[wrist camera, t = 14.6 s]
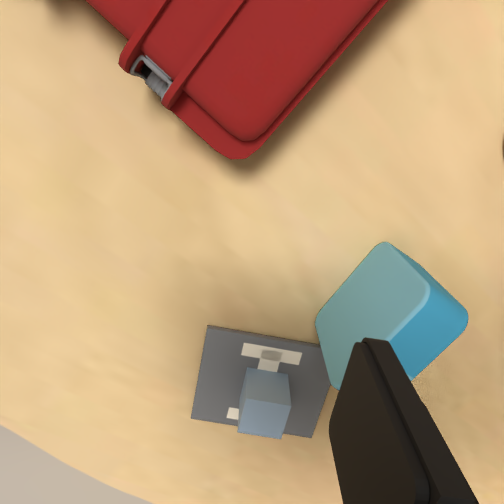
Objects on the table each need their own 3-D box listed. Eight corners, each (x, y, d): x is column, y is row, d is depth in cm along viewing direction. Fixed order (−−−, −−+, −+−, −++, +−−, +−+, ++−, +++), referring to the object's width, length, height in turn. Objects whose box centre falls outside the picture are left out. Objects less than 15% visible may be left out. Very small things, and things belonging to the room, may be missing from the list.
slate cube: (287, 374, 44) (291, 405, 39) (278, 405, 45) (280, 439, 41) (247, 367, 43) (246, 398, 39) (239, 398, 45) (237, 432, 40)
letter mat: (340, 348, 43) (341, 351, 42) (310, 434, 48) (311, 438, 47) (207, 324, 42) (207, 328, 41) (191, 414, 47) (190, 418, 46)
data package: (342, 336, 42) (373, 418, 31) (312, 318, 41) (332, 395, 30) (414, 259, 39) (478, 320, 27) (382, 236, 38) (434, 290, 26)
